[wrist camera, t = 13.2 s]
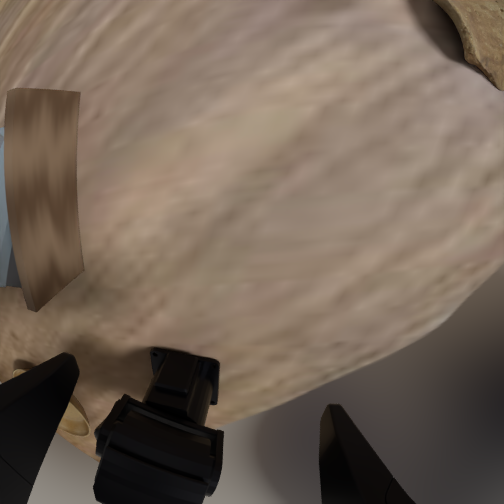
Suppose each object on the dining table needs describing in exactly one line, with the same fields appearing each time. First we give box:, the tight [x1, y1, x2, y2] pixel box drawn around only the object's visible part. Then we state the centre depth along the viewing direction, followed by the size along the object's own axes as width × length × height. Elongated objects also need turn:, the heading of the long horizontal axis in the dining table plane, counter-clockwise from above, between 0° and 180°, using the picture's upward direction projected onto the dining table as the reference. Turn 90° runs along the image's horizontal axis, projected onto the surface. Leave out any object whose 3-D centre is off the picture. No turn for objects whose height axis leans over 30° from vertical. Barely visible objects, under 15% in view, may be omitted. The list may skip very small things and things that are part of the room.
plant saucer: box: [13, 369, 90, 437], centre depth 31 cm, size 15×15×3 cm
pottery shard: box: [433, 0, 504, 91], centre depth 11 cm, size 11×4×10 cm
